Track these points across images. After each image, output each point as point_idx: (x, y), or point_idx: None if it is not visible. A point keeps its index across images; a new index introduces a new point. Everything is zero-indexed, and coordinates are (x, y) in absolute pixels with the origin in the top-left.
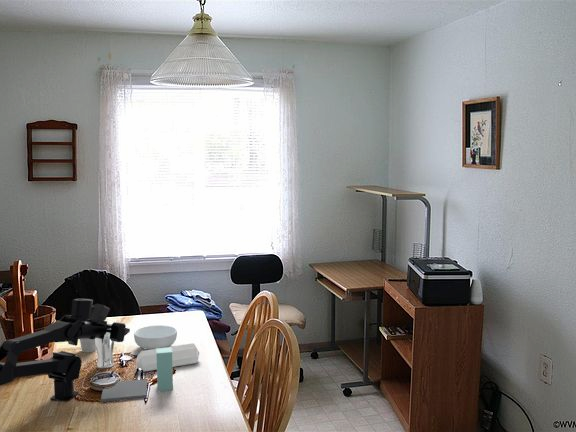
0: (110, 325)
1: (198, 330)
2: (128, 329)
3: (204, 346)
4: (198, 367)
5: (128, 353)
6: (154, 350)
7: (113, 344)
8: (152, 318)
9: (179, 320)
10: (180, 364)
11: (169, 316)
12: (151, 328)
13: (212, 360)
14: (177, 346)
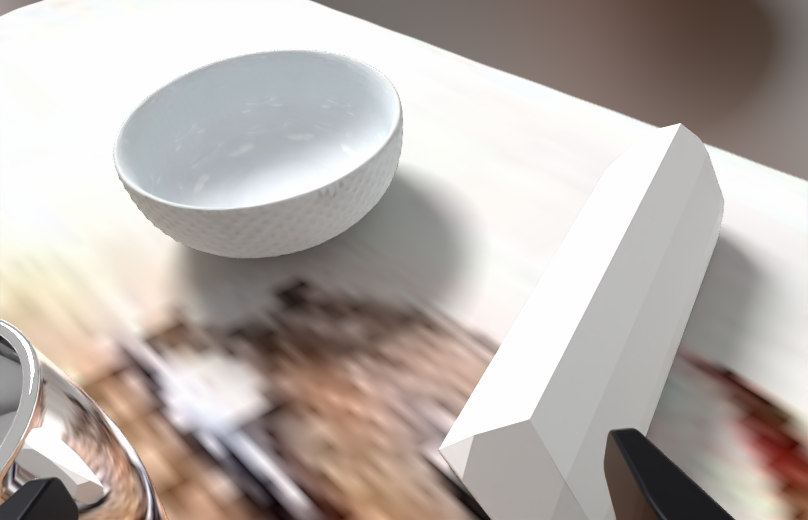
0: (52, 486)
1: (313, 25)
2: (684, 488)
3: (497, 96)
4: (785, 269)
5: (176, 332)
6: (588, 335)
7: (156, 493)
8: (27, 32)
9: (159, 6)
10: (693, 305)
11: (91, 2)
12: (176, 98)
13: (721, 174)
14: (650, 198)
